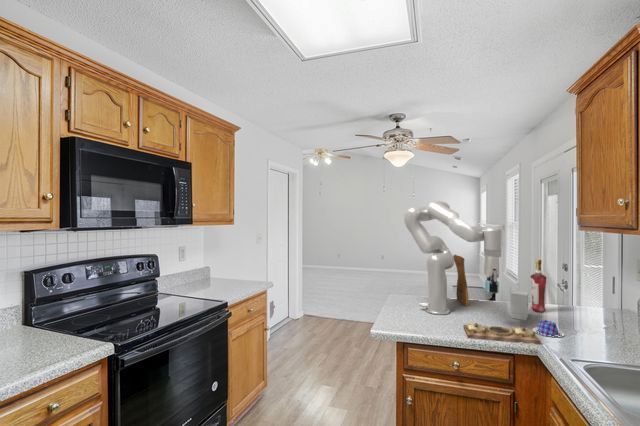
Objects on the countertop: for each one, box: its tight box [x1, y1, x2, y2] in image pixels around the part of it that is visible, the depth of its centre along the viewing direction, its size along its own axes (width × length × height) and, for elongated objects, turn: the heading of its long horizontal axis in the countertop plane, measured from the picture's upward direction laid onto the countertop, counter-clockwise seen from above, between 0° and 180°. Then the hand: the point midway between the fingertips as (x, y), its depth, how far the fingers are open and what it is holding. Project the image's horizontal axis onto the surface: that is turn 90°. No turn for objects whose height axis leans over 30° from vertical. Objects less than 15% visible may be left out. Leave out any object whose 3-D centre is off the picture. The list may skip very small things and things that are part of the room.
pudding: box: [531, 319, 565, 338], centre depth 154 cm, size 12×12×5 cm
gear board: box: [462, 322, 542, 345], centre depth 151 cm, size 28×13×4 cm, turn 75°
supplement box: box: [510, 290, 529, 321], centre depth 176 cm, size 7×7×13 cm
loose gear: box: [484, 279, 500, 294], centre depth 164 cm, size 6×6×5 cm
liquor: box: [530, 259, 547, 313], centre depth 186 cm, size 7×7×28 cm
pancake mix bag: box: [453, 254, 470, 307], centre depth 203 cm, size 7×19×28 cm, turn 168°
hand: (491, 290), depth 165 cm, fingers closed on loose gear, 5 cm apart
